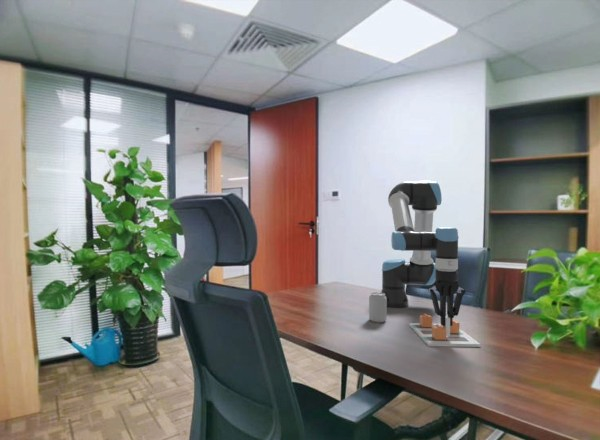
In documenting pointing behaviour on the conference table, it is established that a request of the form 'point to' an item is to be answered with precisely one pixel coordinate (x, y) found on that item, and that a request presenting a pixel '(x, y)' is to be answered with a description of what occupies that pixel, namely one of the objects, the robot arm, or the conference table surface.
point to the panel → (452, 340)
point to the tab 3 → (454, 327)
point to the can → (377, 307)
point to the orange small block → (425, 320)
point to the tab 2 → (439, 332)
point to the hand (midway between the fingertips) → (446, 334)
